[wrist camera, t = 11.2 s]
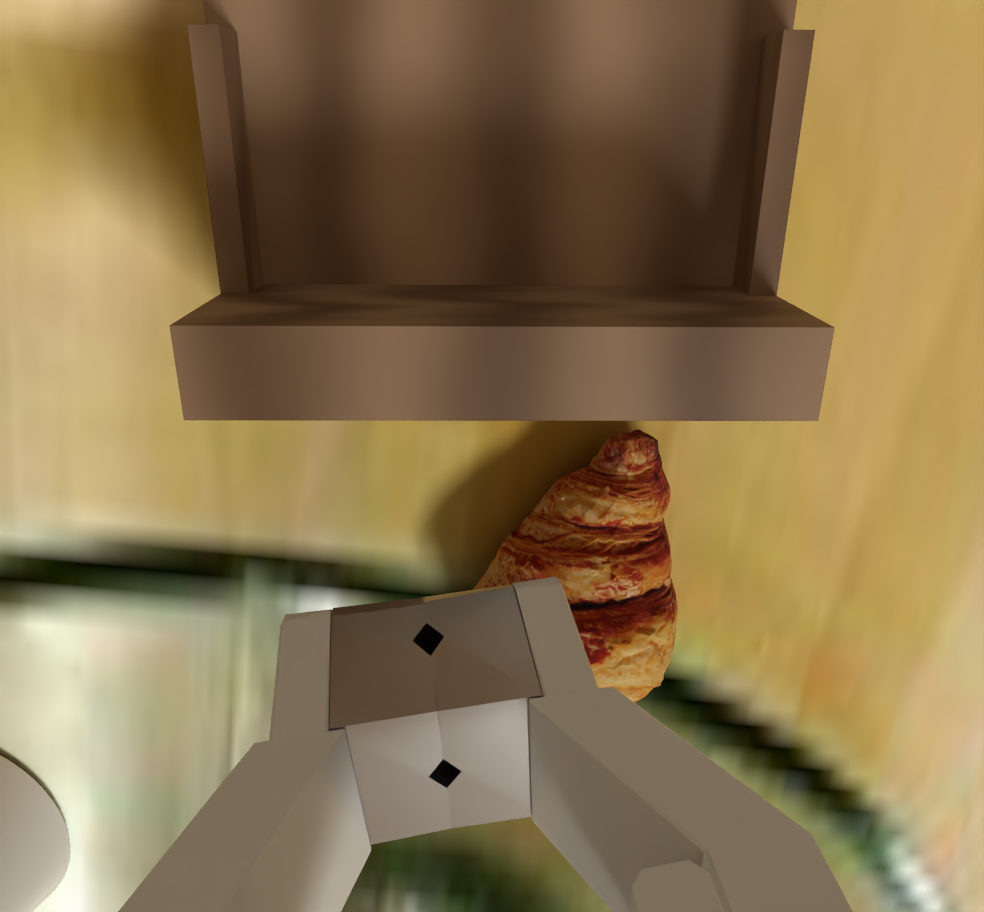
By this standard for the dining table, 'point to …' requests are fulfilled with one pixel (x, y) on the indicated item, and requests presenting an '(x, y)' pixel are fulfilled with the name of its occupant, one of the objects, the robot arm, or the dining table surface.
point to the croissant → (606, 560)
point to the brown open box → (500, 212)
